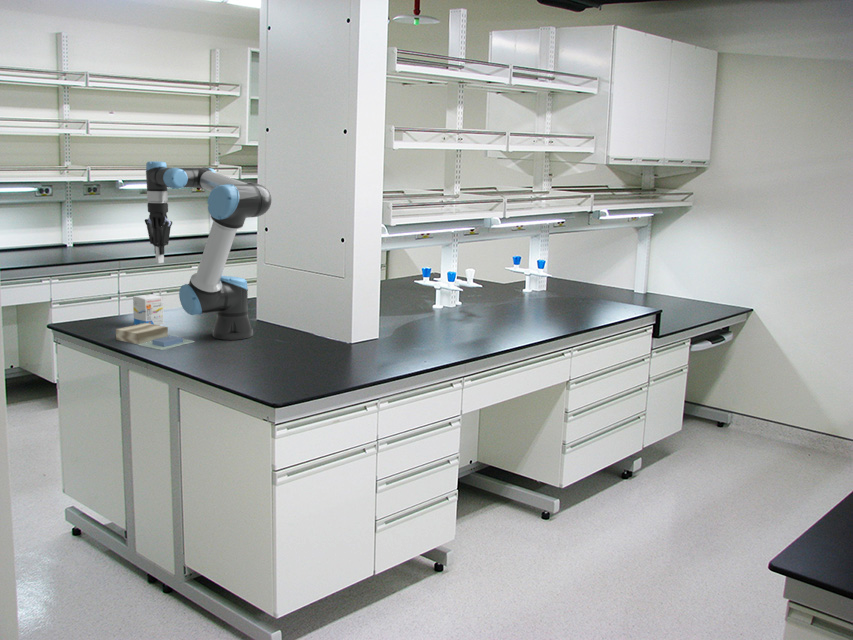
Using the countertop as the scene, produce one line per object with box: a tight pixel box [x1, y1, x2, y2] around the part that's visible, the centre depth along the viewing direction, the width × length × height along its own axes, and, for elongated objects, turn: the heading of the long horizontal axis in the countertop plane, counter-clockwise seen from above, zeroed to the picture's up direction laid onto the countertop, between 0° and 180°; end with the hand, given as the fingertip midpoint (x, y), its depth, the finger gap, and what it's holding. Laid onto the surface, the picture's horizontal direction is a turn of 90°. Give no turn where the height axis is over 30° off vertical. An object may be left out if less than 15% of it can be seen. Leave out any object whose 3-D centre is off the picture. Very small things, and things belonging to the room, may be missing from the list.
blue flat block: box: [152, 335, 184, 347], centre depth 298 cm, size 6×9×2 cm, turn 150°
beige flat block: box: [115, 323, 169, 345], centre depth 304 cm, size 12×14×4 cm
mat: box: [137, 338, 195, 351], centre depth 298 cm, size 12×16×1 cm
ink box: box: [132, 293, 164, 326], centre depth 327 cm, size 9×8×12 cm
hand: (159, 262), depth 316 cm, fingers closed
